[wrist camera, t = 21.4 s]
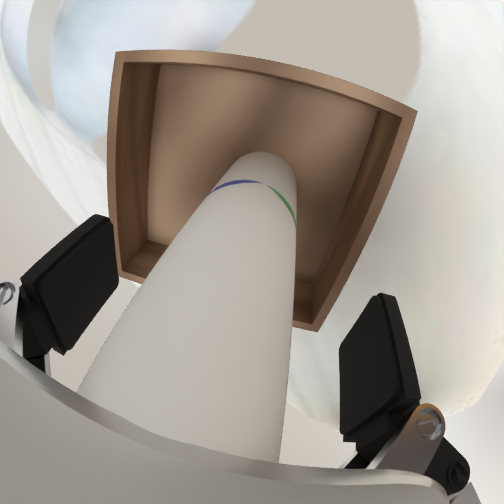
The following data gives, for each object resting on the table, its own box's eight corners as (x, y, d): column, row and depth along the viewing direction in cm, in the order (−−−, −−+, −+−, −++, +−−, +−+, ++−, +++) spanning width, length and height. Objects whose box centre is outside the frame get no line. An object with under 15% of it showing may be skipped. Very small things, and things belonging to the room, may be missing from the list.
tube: (279, 227, 18) (233, 492, 5) (217, 201, 17) (84, 438, 5) (308, 170, 15) (322, 480, 3) (240, 140, 15) (37, 380, 2)
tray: (370, 101, 16) (417, 111, 9) (315, 256, 24) (317, 332, 17) (183, 60, 16) (115, 51, 9) (165, 216, 24) (115, 274, 17)
